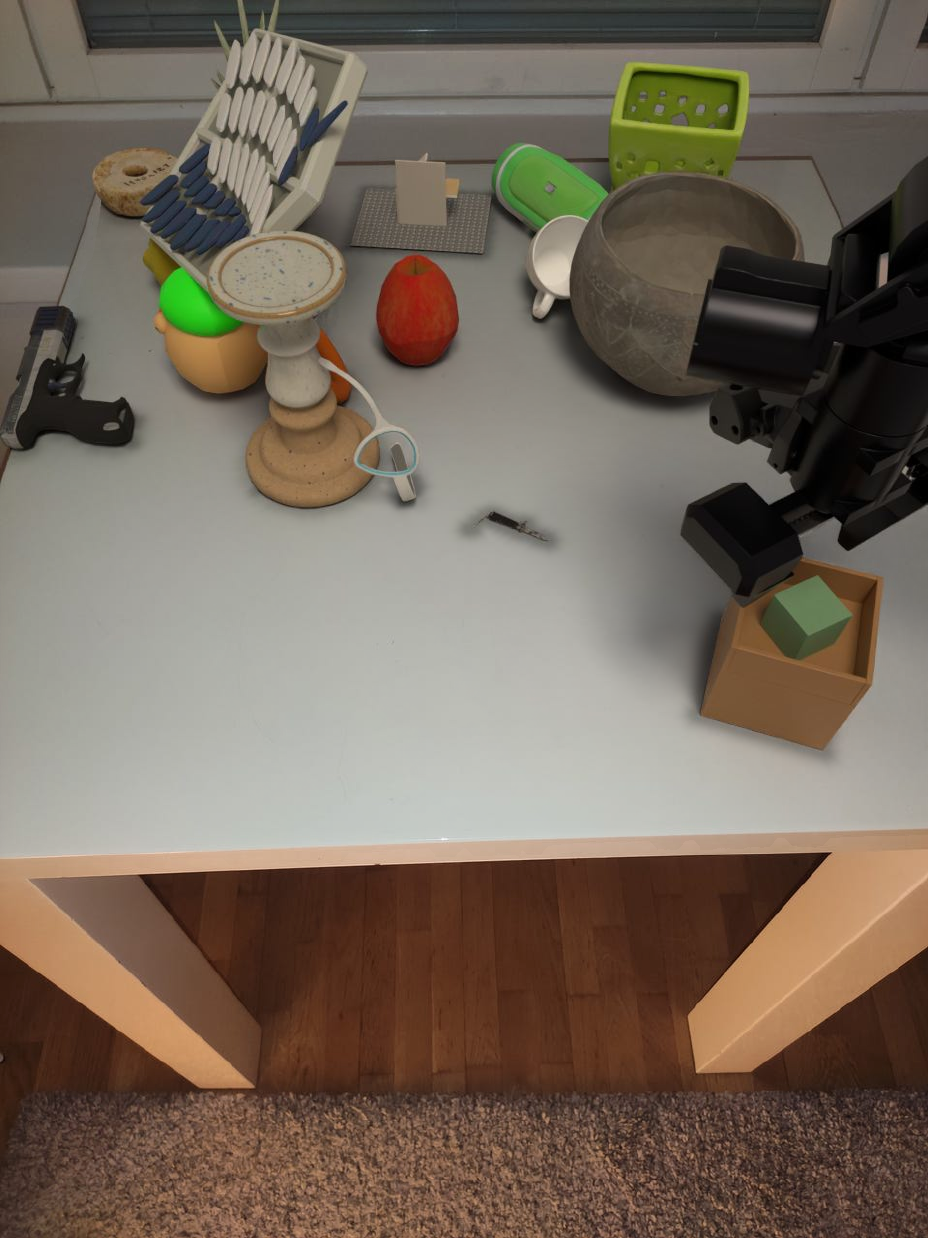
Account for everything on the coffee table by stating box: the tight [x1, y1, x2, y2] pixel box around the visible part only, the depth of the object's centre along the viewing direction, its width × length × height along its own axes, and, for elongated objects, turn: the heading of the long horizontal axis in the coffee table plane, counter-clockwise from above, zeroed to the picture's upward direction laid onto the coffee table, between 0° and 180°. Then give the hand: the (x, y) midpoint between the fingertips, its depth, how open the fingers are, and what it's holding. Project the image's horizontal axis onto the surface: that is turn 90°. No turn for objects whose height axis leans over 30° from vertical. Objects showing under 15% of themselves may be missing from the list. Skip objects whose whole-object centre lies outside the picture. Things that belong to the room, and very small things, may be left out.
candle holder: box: [207, 230, 381, 508], centre depth 76 cm, size 12×12×20 cm
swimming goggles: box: [318, 357, 421, 502], centre depth 78 cm, size 14×8×6 cm
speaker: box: [491, 142, 610, 234], centre depth 101 cm, size 18×7×8 cm
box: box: [699, 556, 884, 751], centre depth 67 cm, size 9×9×10 cm
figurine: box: [153, 267, 268, 395], centre depth 86 cm, size 11×10×12 cm
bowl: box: [569, 171, 806, 397], centre depth 86 cm, size 21×21×15 cm
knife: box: [471, 510, 549, 541], centre depth 80 cm, size 6×1×3 cm
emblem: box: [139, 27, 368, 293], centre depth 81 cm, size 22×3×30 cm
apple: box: [375, 254, 460, 367], centre depth 88 cm, size 8×8×11 cm
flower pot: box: [607, 61, 750, 194], centre depth 101 cm, size 14×14×13 cm
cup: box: [525, 215, 588, 320], centre depth 95 cm, size 8×10×7 cm
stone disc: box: [91, 147, 178, 217], centre depth 107 cm, size 10×4×10 cm
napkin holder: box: [393, 152, 461, 226], centre depth 103 cm, size 3×7×7 cm, turn 84°
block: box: [760, 575, 852, 661], centre depth 64 cm, size 4×4×4 cm
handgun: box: [0, 305, 135, 450], centre depth 90 cm, size 3×19×12 cm
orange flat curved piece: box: [255, 324, 352, 403], centre depth 84 cm, size 10×2×15 cm
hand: (792, 573), depth 61 cm, fingers open, 9 cm apart
